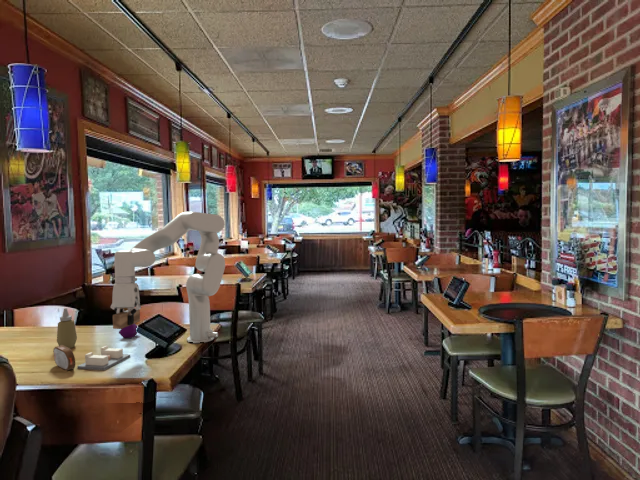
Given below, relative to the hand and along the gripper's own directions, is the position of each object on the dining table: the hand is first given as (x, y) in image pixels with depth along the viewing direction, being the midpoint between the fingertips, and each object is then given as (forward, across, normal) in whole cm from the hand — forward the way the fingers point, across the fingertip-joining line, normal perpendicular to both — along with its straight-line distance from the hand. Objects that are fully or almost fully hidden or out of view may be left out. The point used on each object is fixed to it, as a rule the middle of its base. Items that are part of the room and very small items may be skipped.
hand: (126, 323), depth 181 cm
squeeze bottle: (+15, +38, -11) cm, 43 cm away
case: (+1, 0, 0) cm, 1 cm away
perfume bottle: (+15, +20, -31) cm, 40 cm away
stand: (+15, +6, +5) cm, 17 cm away
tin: (+16, +18, +13) cm, 28 cm away
